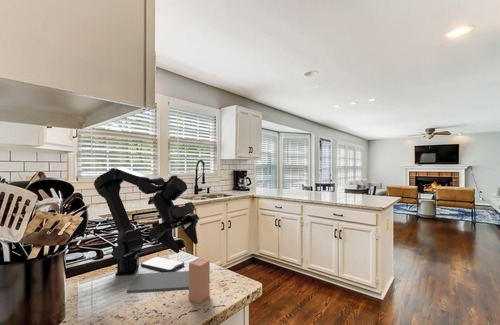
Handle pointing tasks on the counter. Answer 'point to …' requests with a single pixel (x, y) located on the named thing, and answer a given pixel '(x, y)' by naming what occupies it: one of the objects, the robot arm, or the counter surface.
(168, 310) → the counter surface
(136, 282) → the mat
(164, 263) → the smartphone
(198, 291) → the block
